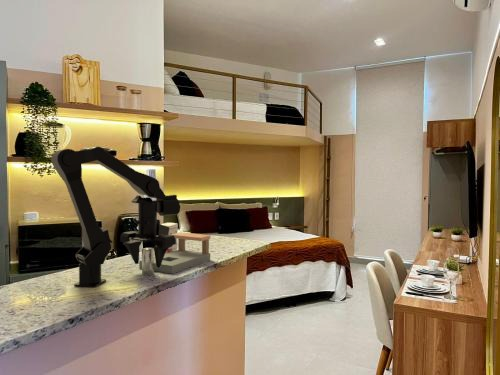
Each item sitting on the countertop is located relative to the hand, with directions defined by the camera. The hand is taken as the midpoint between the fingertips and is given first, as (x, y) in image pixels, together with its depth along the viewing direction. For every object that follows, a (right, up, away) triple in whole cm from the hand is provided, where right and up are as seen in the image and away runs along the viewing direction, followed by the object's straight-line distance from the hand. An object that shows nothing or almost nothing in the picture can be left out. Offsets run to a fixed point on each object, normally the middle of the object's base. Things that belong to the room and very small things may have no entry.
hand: (147, 265), depth 119 cm
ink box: (0, -2, +31) cm, 31 cm away
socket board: (+7, -2, +13) cm, 15 cm away
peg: (0, -3, 0) cm, 3 cm away
